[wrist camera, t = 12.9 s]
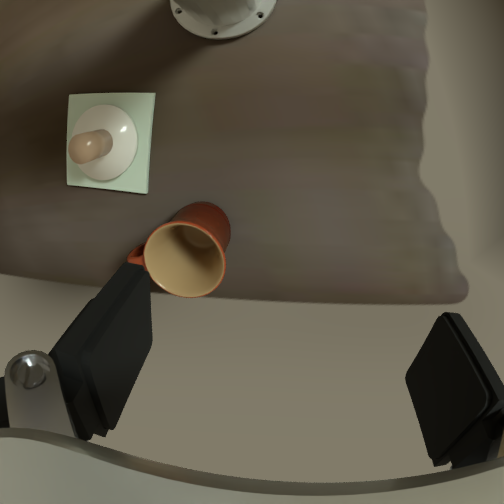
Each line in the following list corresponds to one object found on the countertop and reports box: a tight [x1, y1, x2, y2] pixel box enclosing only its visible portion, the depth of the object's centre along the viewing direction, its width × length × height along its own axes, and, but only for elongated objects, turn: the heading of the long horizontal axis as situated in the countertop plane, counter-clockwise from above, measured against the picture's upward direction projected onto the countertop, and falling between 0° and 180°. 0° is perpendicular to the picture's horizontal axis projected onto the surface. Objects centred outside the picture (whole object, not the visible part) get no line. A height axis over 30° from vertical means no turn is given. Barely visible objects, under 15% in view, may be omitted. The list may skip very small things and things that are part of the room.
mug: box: [127, 202, 231, 298], centre depth 37 cm, size 12×9×10 cm
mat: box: [67, 93, 156, 194], centre depth 36 cm, size 13×13×1 cm
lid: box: [68, 104, 138, 180], centre depth 33 cm, size 10×10×6 cm
